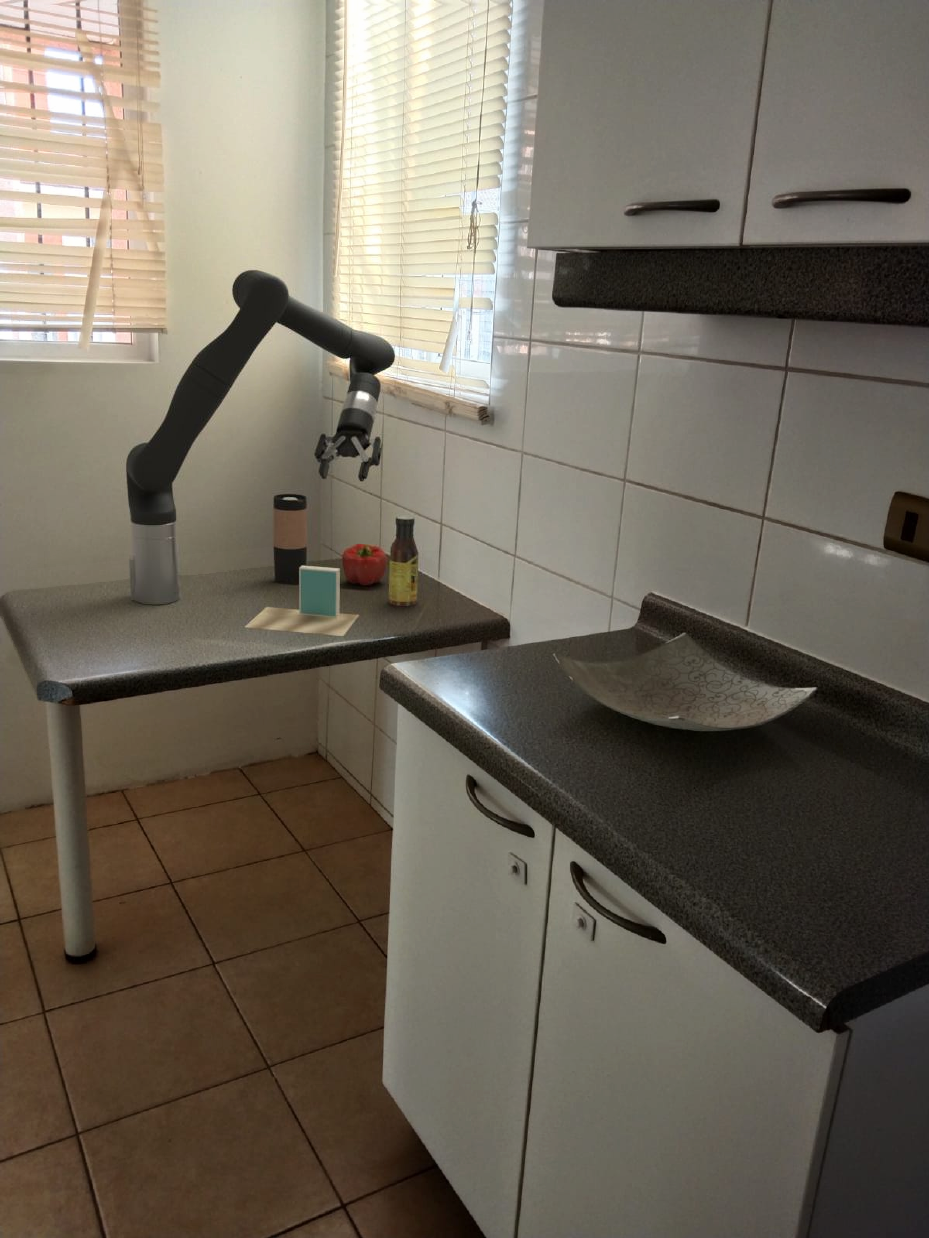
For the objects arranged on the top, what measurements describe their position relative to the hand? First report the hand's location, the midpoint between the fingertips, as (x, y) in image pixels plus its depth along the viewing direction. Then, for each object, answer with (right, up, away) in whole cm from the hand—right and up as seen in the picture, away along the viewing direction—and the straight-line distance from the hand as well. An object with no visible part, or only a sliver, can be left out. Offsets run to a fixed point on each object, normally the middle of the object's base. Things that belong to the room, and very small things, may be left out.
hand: (341, 478), depth 216 cm
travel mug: (-14, -22, +19) cm, 33 cm away
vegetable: (+3, -22, +21) cm, 30 cm away
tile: (-4, -29, -7) cm, 30 cm away
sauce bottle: (+13, -28, +5) cm, 31 cm away
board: (-6, -32, -11) cm, 34 cm away
